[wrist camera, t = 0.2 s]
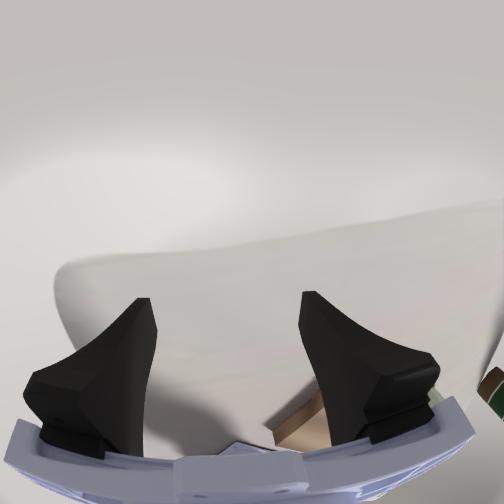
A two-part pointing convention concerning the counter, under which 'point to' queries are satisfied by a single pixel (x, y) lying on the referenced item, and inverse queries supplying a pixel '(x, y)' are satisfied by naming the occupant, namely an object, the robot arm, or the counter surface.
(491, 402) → the beer bottle
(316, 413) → the walnut block
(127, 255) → the counter surface
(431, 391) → the sage block
